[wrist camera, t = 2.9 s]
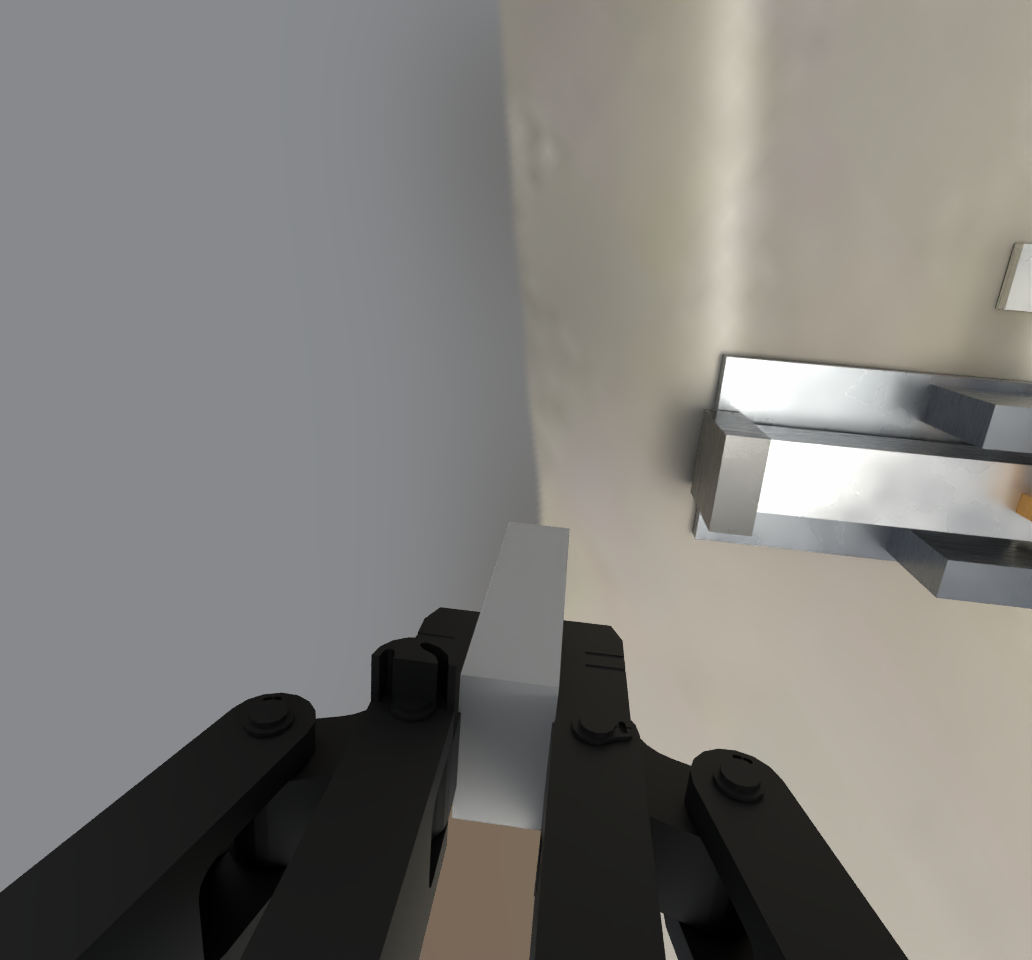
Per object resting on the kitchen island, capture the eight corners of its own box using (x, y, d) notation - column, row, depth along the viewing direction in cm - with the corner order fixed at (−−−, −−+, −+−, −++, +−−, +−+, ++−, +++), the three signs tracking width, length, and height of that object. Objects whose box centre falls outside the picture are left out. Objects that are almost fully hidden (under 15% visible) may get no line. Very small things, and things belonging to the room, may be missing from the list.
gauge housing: (745, 225, 27) (780, 213, 22) (1273, 262, 25) (1441, 259, 20) (692, 532, 31) (712, 581, 26) (1141, 582, 29) (1253, 644, 24)
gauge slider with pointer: (736, 221, 26) (770, 208, 21) (1142, 251, 25) (1281, 244, 20) (690, 492, 29) (710, 535, 24) (1044, 529, 28) (1140, 583, 23)
